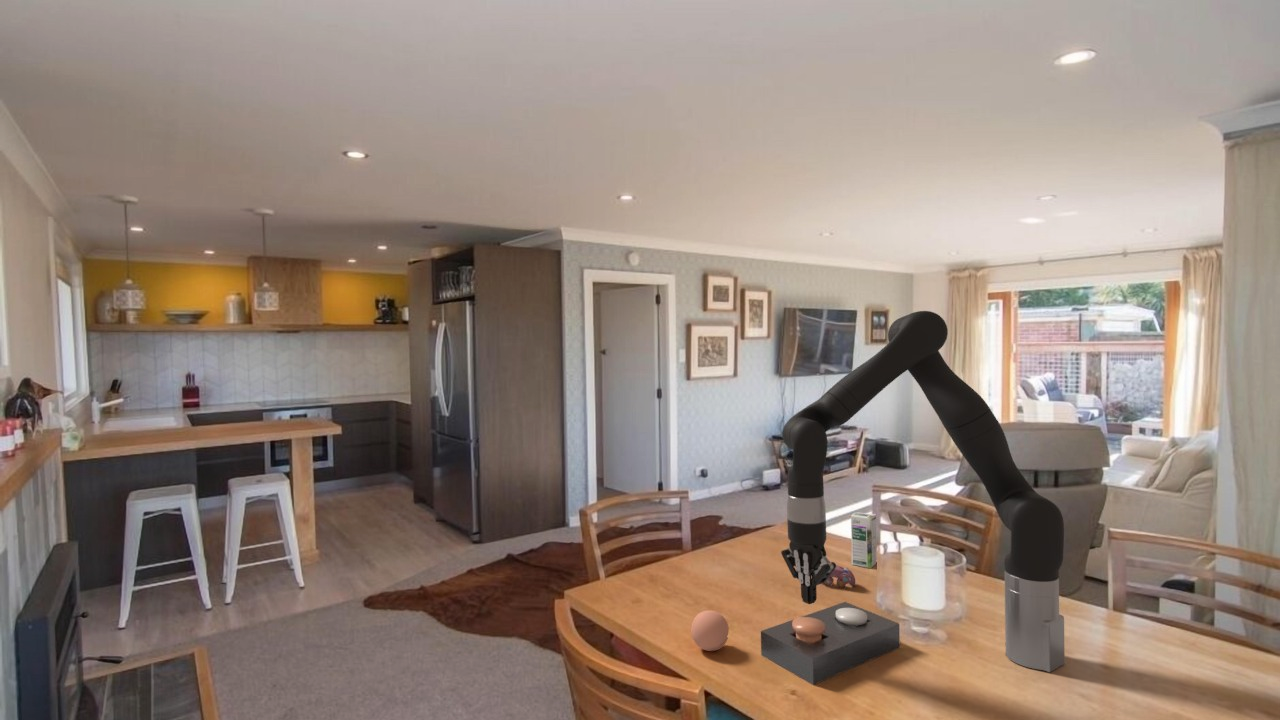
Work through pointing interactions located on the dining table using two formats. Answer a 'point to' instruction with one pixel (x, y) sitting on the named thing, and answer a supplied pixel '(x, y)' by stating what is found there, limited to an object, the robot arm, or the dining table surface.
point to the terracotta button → (808, 629)
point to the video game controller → (841, 577)
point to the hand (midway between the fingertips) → (808, 602)
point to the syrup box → (863, 539)
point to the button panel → (830, 644)
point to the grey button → (851, 616)
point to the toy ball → (710, 630)
